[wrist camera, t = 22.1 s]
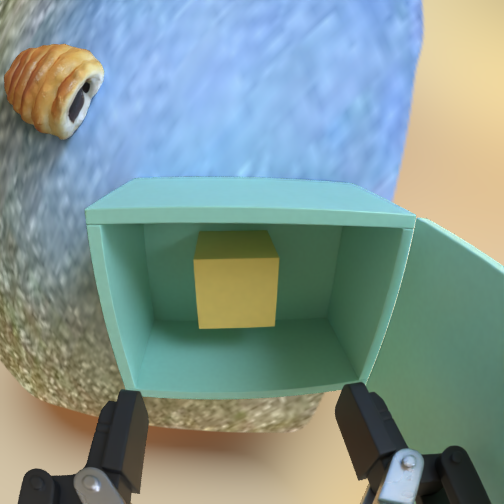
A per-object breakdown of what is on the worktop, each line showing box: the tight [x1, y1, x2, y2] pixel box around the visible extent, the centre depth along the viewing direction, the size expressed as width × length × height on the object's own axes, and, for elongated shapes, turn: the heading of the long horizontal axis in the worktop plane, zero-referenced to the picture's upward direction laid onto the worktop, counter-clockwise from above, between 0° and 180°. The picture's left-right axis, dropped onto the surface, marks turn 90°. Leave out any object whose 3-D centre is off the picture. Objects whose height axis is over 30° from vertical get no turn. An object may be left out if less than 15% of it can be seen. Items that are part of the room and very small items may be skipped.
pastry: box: [4, 44, 104, 140], centre depth 14 cm, size 9×7×4 cm
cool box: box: [85, 177, 416, 399], centre depth 19 cm, size 17×13×9 cm
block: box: [193, 230, 280, 329], centre depth 20 cm, size 5×5×5 cm
